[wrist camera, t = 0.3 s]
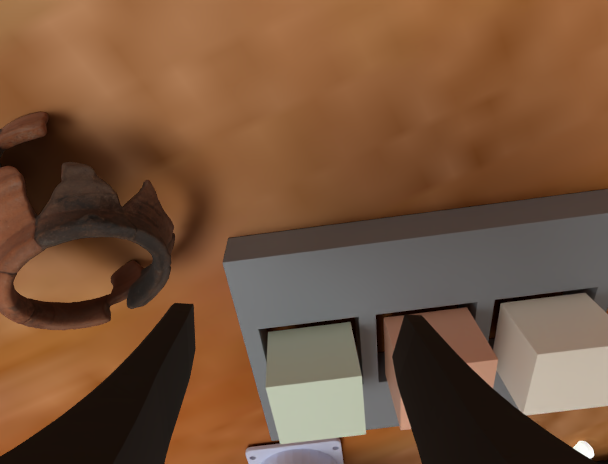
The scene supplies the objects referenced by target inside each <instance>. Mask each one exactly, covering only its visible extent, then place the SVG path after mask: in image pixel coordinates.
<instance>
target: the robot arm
mask: <svg viewBox="0 0 608 464" xmlns="http://www.w3.org/2000/svg"><path fill="white" fill-rule="evenodd" d="M194 354H195V328H194V306H193V304H181V303H174V304H173V305H172V306H171V307H170V308H169V310H168V311H167V312H166V314H165V315H164V316H163V317H162V319H161V320H160V321H159V323H158V324H157V325H156V326H155V327H154V329H153V330H152V331H151V332H150V333H149V335H148V336H147V337H146V338H145V339H144V340H143V341H142V342H141V344H140V345H139V346H138V347H137V348H136V349H135V350H134V351H133V352H132V353H131V355H130V356H129V357H128V358H127V359H126V360H125V361H124V362H123V363H122V364H121V365H120V366H119V367H118V368H117V369H116V370H115V371H114V372H113V373H112V374H111V375H110V376H108V377H107V378H106V379H105V380H104V381H103V382H102V383H101V384H100V385H99V386H97V387H96V388H95V389H94V390H93V391H92V392H91V393H89V394H88V395H87V396H86V397H84V398H83V399H82V400H81V401H80V402H78V403H77V404H76V405H75V406H73V407H72V408H71V409H70V410H68V411H67V412H66V413H64V414H63V415H62V416H60V417H59V418H58V419H56V420H55V421H54V422H52V423H51V424H49V425H48V426H46V427H45V428H43V429H42V430H41V431H39V432H38V433H36V434H35V435H33V436H32V437H30V438H29V439H28V440H26V441H25V442H23V443H22V444H20V445H18V446H17V447H15V448H14V449H12V450H10V451H9V452H7V453H5V454H4V455H2V456H0V464H164V462H165V458H166V454H167V450H168V447H169V443H170V440H171V436H172V433H173V430H174V427H175V424H176V421H177V417H178V414H179V411H180V408H181V405H182V402H183V398H184V395H185V392H186V389H187V386H188V382H189V379H190V375H191V370H192V365H193V359H194ZM392 359H393V365H394V370H395V376H396V380H397V385H398V388H399V392H400V395H401V398H402V401H403V404H404V407H405V410H406V414H407V417H408V420H409V423H410V426H411V429H412V432H413V435H414V438H415V441H416V444H417V447H418V451H419V454H420V458H421V462H422V464H598V463H597V462H595V461H593V460H591V459H590V458H588V457H586V456H585V455H583V454H582V453H580V452H578V451H577V450H575V449H574V448H572V447H571V446H569V445H567V444H566V443H564V442H563V441H561V440H560V439H558V438H557V437H555V436H554V435H552V434H551V433H549V432H548V431H546V430H545V429H544V428H542V427H541V426H540V425H538V424H537V423H535V422H534V421H533V420H531V419H530V418H529V417H527V416H526V415H525V414H523V413H522V412H521V411H519V410H518V409H517V408H516V407H514V406H513V405H512V404H511V403H510V402H508V401H507V400H506V399H505V398H504V397H502V396H501V395H500V394H499V393H498V392H496V391H495V390H494V389H493V388H492V387H491V386H490V385H489V384H487V383H486V382H485V381H484V380H483V379H482V378H481V377H480V376H479V375H478V374H477V373H476V372H475V371H474V370H473V369H472V368H471V367H470V366H469V365H468V364H467V363H466V362H465V361H464V360H463V359H462V358H461V357H460V356H459V355H458V354H457V353H456V352H455V351H454V350H453V349H452V348H451V347H450V346H449V345H448V343H447V342H446V341H445V340H444V339H443V338H442V337H441V336H440V335H439V334H438V332H437V331H436V330H435V329H434V328H433V327H432V326H431V325H430V324H429V323H428V321H427V320H426V319H425V318H424V317H423V316H422V315H407V314H405V315H404V318H403V321H402V325H401V328H400V331H399V335H398V338H397V342H396V345H395V348H394V352H393V355H392ZM246 457H247V460H248V463H249V464H344V463H343V455H342V448H341V440H340V439H339V438H330V439H322V440H313V441H305V442H296V443H288V444H280V443H279V444H271V445H262V446H254V447H249V448H247V449H246Z"/></svg>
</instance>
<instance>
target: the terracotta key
mask: <svg viewBox="0 0 608 464" xmlns="http://www.w3.org/2000/svg"><path fill="white" fill-rule="evenodd" d="M409 315H422V316H423V317H424V318H425V319H426V320H427V321H428V323H429V324H430V325H431V326H432V327H433V328H434V329H435V330H436V331H437V332H438V334H439V335H440V336H441V337H442V338H443V339H444V340H445V341H446V342H447V343H448V345H449V346H450V347H451V348H452V349H453V350H454V351H455V352H456V353H457V354H458V355H459V356H460V357H461V358H462V359H463V360H464V361H465V362H466V363H467V364H468V365H469V366H470V367H471V368H472V369H473V370H474V371H475V372H476V373H477V374H478V375H479V376H480V377H481V378H482V379H483V380H484V381H485V382H486V383H487V384H489V385H490V386H491V387H492V388H493V387H494V381H495V375H496V370H497V364H498V358H497V356H496V355H495V353H494V351H493V350H492V348H491V346H490V345H489V343H488V341H487V340H486V338H485V336H484V335H483V333H482V331H481V330H480V328H479V326H478V325H477V323H476V321H475V320H474V318H473V316H472V315H471V313H470V311H469V310H468V308H467V307H465V308H457V309H449V310H441V311H433V312H425V313H417V314H409ZM403 318H404V315H401V316H393V317H385V318H384V348H385V375H386V378H387V382H388V386H389V389H390V393H391V397H392V400H393V404H394V408H395V411H396V415H397V419H398V422H399V426H400V430H407V429H411V426H410V423H409V420H408V417H407V414H406V410H405V407H404V404H403V401H402V398H401V395H400V392H399V388H398V385H397V380H396V376H395V370H394V365H393V359H392V355H393V352H394V348H395V345H396V342H397V338H398V335H399V331H400V328H401V325H402V321H403Z"/></svg>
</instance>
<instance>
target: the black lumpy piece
mask: <svg viewBox="0 0 608 464" xmlns="http://www.w3.org/2000/svg"><path fill="white" fill-rule="evenodd" d="M573 448H574V449H575V450H577V451H578V452H580V453H582V454H583V455H585V456H586V457H588V458H593V456H594V451H593V449H592V447H591V446H590V445H589V444H588V443H587V442H585V441H579V442H578V443H577V444H576V445H575V446H574V447H573ZM597 463H598V464H608V460H605V461H598V462H597Z"/></svg>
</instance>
